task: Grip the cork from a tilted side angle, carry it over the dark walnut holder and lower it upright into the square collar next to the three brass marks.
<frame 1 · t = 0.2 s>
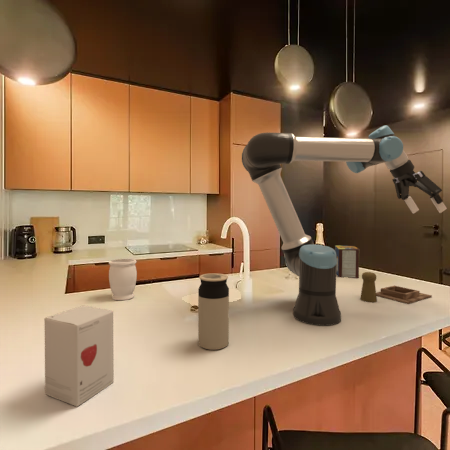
hand: (428, 211, 113), 35 cm above the counter, tool tilted 35°, fingers open, 13 cm apart
travel mug: (213, 344, 79), on the counter
jar: (123, 298, 120), on the counter
supplement box: (81, 389, 59), on the counter
protein box: (345, 275, 166), on the counter
cork: (368, 300, 119), on the counter
walnut holder: (402, 296, 124), on the counter
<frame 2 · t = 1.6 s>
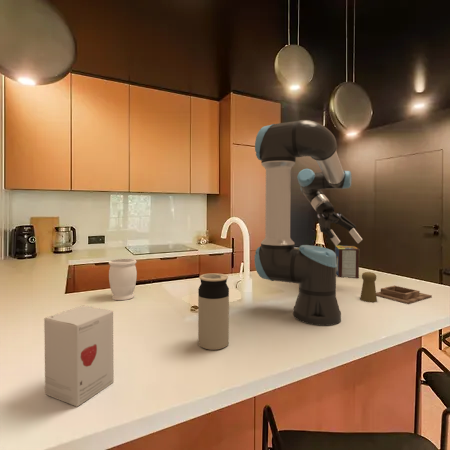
hand: (349, 242, 126), 22 cm above the counter, tool tilted 45°, fingers open, 13 cm apart
nothing on the counter moved.
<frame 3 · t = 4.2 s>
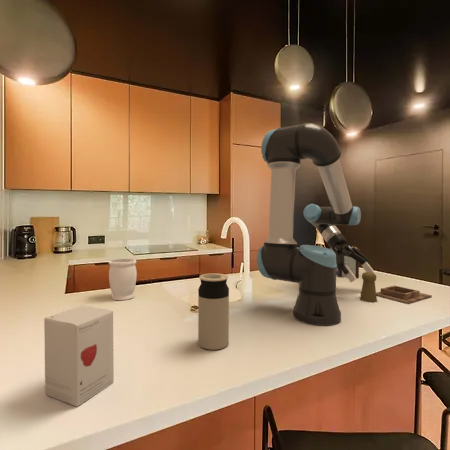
hand: (364, 278, 121), 8 cm above the counter, tool tilted 45°, fingers open, 13 cm apart
nothing on the counter moved.
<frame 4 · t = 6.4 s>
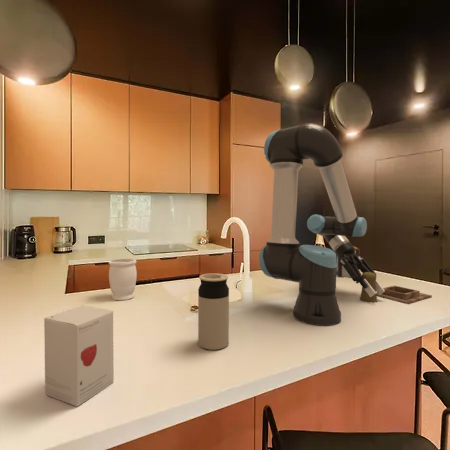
hand: (377, 293, 115), 3 cm above the counter, tool tilted 45°, fingers closed on cork, 5 cm apart
cork: (368, 300, 119), on the counter, touching gripper
everything else where it was.
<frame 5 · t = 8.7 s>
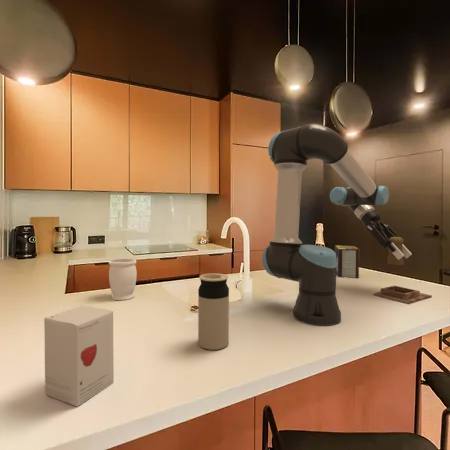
hand: (405, 256, 119), 17 cm above the counter, tool tilted 45°, fingers closed on cork, 5 cm apart
cork: (395, 264, 122), point 14 cm above the counter, touching gripper
everything else where it was.
when the fingers open (5 cm above the counter, at t = 11.0 s): cork moves 1 cm, resting on walnut holder.
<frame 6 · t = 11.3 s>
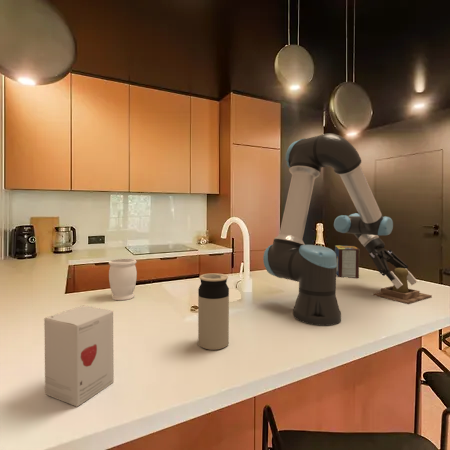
hand: (407, 285, 120), 6 cm above the counter, tool tilted 45°, fingers open, 10 cm apart
cork: (400, 295, 123), point 1 cm above the counter, touching walnut holder
everything else where it was.
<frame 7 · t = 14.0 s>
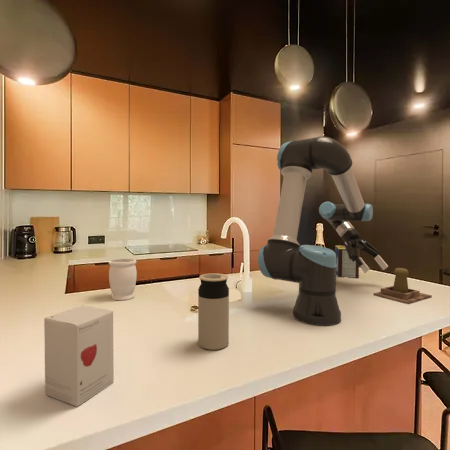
hand: (376, 269, 131), 10 cm above the counter, tool tilted 45°, fingers open, 13 cm apart
nothing on the counter moved.
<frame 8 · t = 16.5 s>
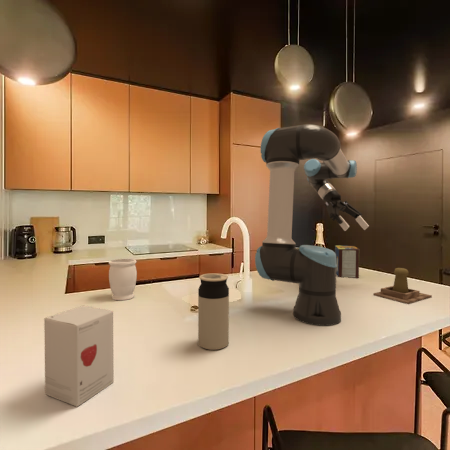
hand: (357, 228, 130), 28 cm above the counter, tool tilted 45°, fingers open, 13 cm apart
nothing on the counter moved.
at the end: cork 0.8 cm from the target spot on the walnut holder, point 0.6 cm above the walnut holder's base; cork tilted 0°; the gripper is holding nothing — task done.
